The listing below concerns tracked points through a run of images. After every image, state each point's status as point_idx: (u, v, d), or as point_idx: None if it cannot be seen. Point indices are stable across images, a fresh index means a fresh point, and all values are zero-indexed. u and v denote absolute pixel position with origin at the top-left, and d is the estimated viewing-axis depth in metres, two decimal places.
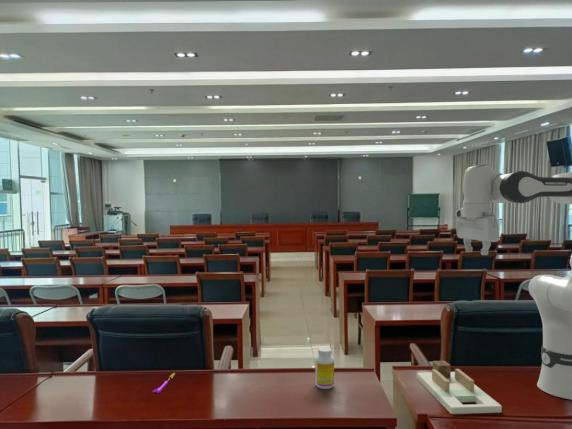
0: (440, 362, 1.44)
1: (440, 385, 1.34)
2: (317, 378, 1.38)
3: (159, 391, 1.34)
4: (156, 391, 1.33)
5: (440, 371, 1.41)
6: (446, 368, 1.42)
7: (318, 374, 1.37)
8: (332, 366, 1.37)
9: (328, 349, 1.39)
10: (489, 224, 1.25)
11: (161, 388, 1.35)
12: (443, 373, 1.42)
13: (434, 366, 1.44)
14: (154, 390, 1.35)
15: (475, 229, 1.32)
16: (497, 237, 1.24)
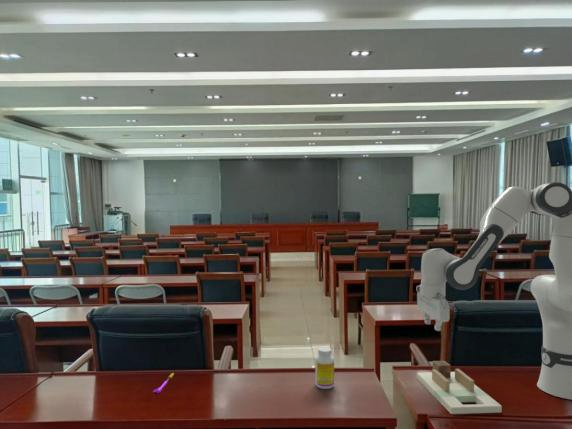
0: (440, 362, 1.44)
1: (440, 385, 1.34)
2: (317, 378, 1.38)
3: (159, 391, 1.34)
4: (156, 391, 1.33)
5: (440, 371, 1.41)
6: (446, 368, 1.42)
7: (318, 374, 1.37)
8: (332, 366, 1.37)
9: (328, 349, 1.39)
10: (441, 306, 1.41)
11: (161, 388, 1.35)
12: (443, 373, 1.42)
13: (434, 366, 1.44)
14: (154, 390, 1.35)
15: (431, 307, 1.48)
16: (448, 318, 1.41)
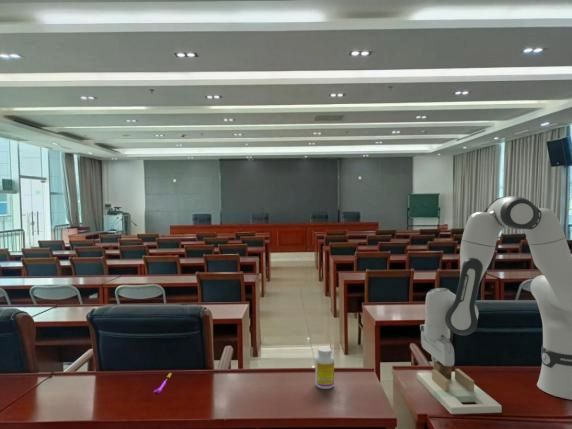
0: None
1: (440, 385, 1.34)
2: (317, 378, 1.38)
3: (160, 391, 1.34)
4: (157, 391, 1.33)
5: None
6: (447, 369, 1.40)
7: (318, 374, 1.37)
8: (332, 366, 1.37)
9: (328, 349, 1.39)
10: (446, 350, 1.38)
11: (161, 388, 1.36)
12: (444, 374, 1.41)
13: (435, 367, 1.43)
14: (154, 390, 1.35)
15: (435, 349, 1.45)
16: (452, 362, 1.37)
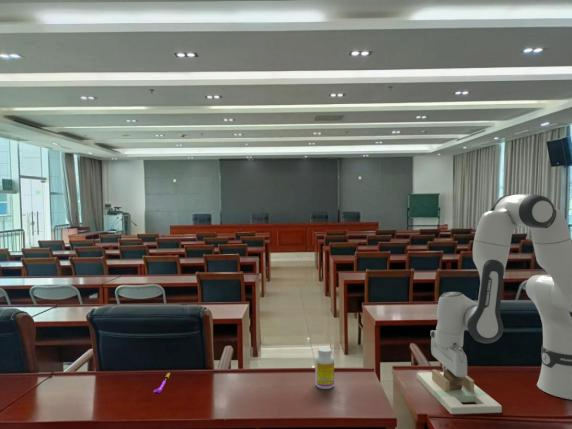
0: (452, 373, 1.33)
1: (440, 385, 1.34)
2: (317, 378, 1.38)
3: (160, 391, 1.34)
4: (157, 391, 1.33)
5: (451, 384, 1.31)
6: (459, 381, 1.31)
7: (318, 374, 1.37)
8: (332, 366, 1.37)
9: (328, 349, 1.39)
10: (458, 360, 1.27)
11: (161, 388, 1.36)
12: (455, 385, 1.32)
13: (445, 376, 1.34)
14: (154, 390, 1.35)
15: (446, 357, 1.35)
16: (465, 373, 1.27)
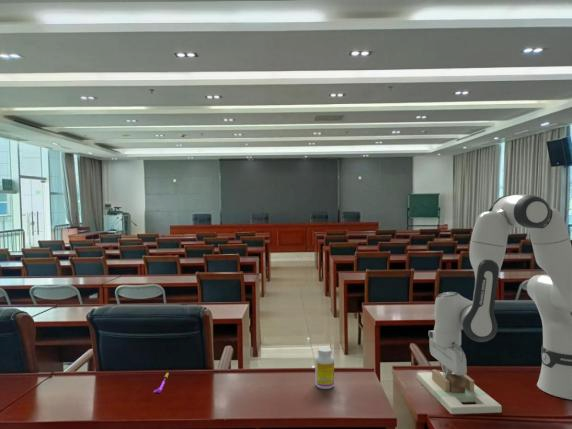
0: (453, 376, 1.32)
1: (440, 385, 1.34)
2: (317, 378, 1.38)
3: (160, 391, 1.34)
4: (158, 391, 1.33)
5: (453, 386, 1.30)
6: (460, 382, 1.30)
7: (318, 374, 1.37)
8: (332, 366, 1.37)
9: (328, 349, 1.39)
10: (457, 359, 1.30)
11: (161, 388, 1.36)
12: (457, 388, 1.30)
13: None
14: (155, 390, 1.35)
15: (445, 356, 1.37)
16: (465, 371, 1.30)
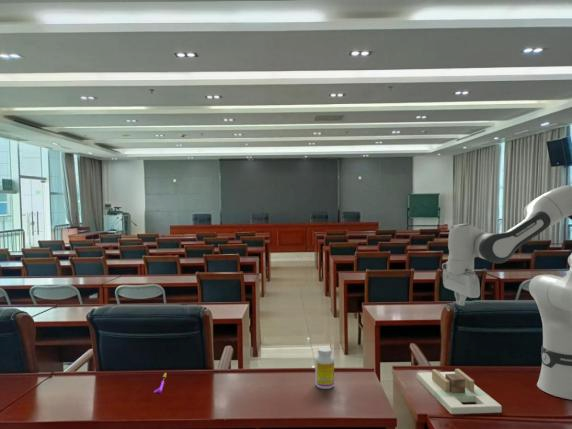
0: (453, 376, 1.32)
1: (440, 385, 1.34)
2: (317, 378, 1.38)
3: (161, 391, 1.34)
4: (158, 391, 1.33)
5: (453, 386, 1.30)
6: (460, 382, 1.30)
7: (318, 374, 1.37)
8: (332, 366, 1.37)
9: (328, 349, 1.39)
10: (471, 282, 1.36)
11: (162, 388, 1.36)
12: (457, 388, 1.30)
13: None
14: (155, 390, 1.35)
15: (459, 283, 1.44)
16: (478, 294, 1.36)
